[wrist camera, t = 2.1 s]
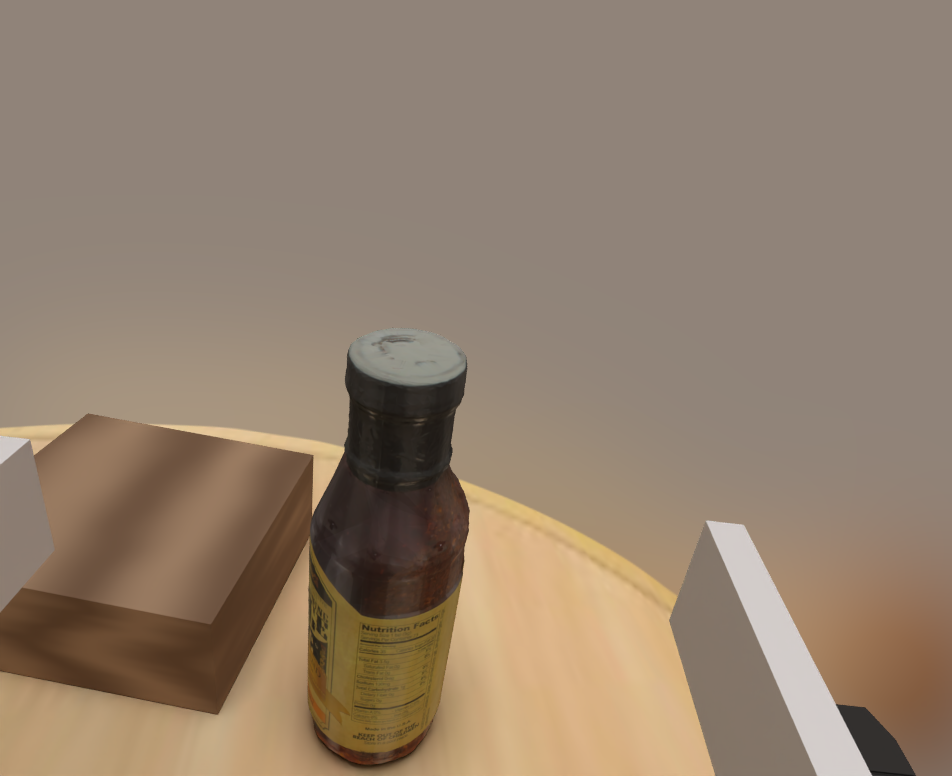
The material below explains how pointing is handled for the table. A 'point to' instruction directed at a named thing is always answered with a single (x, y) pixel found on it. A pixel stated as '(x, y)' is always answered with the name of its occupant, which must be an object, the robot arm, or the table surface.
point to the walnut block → (156, 560)
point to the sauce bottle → (388, 550)
